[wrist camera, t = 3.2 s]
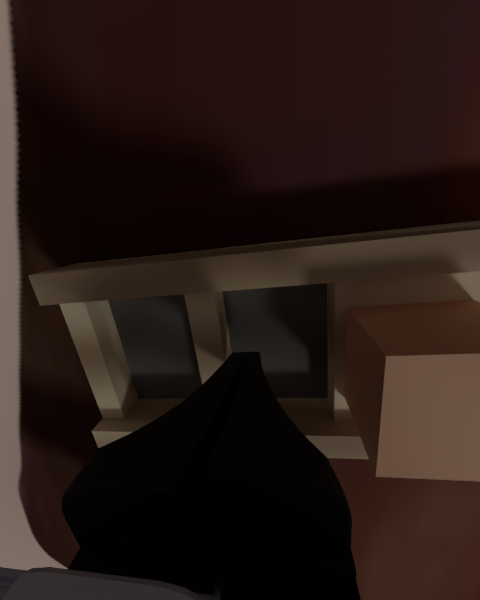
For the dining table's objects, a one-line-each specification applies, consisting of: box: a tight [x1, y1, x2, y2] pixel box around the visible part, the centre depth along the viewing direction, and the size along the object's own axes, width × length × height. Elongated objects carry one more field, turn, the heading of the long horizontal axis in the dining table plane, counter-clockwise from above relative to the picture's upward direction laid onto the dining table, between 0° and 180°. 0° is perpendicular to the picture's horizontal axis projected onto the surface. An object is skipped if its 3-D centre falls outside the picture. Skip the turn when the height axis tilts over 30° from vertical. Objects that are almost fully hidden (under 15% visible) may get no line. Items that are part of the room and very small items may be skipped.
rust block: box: [345, 300, 480, 481], centre depth 9 cm, size 5×5×4 cm
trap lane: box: [28, 220, 480, 459], centre depth 12 cm, size 11×30×3 cm, turn 97°
